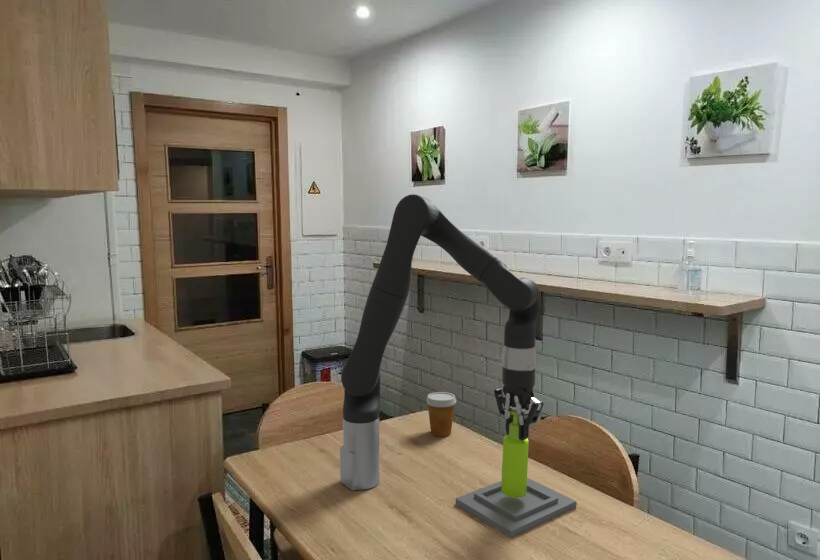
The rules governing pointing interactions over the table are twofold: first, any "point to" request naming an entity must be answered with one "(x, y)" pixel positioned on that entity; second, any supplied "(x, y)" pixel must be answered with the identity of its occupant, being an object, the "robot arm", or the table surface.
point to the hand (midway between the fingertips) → (516, 436)
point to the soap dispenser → (514, 461)
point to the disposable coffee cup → (441, 412)
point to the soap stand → (515, 507)
